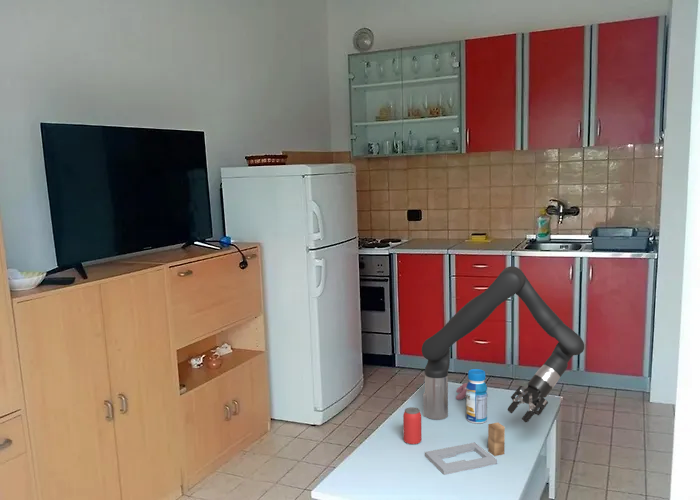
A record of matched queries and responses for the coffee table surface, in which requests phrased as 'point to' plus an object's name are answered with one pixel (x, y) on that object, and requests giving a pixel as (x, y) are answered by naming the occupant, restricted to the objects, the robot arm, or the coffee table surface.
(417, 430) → the beer can
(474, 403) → the beverage bottle
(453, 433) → the coffee table surface
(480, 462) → the keyhole plate
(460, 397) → the video game controller
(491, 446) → the tan peg
